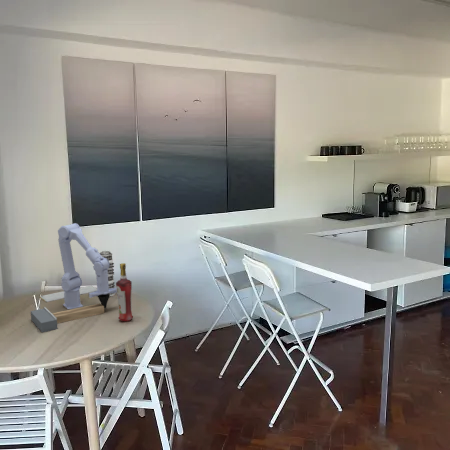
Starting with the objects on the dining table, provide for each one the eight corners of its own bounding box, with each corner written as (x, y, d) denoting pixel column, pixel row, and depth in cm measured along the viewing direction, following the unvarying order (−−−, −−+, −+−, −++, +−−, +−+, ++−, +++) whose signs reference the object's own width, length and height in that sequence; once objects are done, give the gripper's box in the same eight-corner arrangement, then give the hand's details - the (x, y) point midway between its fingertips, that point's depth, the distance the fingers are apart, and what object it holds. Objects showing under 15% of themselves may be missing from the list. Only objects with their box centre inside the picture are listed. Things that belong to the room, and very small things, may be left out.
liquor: (115, 320, 229) (111, 264, 224) (127, 316, 234) (124, 261, 229) (123, 323, 224) (120, 266, 219) (136, 319, 229) (133, 263, 224)
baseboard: (100, 292, 276) (91, 287, 285) (99, 287, 276) (91, 283, 285) (46, 303, 257) (39, 298, 266) (46, 298, 256) (39, 293, 265)
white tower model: (96, 297, 265) (93, 253, 261) (102, 292, 274) (100, 250, 270) (112, 297, 264) (109, 253, 260) (118, 292, 273) (115, 250, 269)
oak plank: (44, 322, 228) (43, 315, 228) (100, 309, 244) (99, 303, 243) (47, 325, 223) (47, 318, 223) (104, 313, 239) (104, 306, 239)
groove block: (31, 319, 231) (30, 309, 230) (45, 316, 235) (45, 307, 234) (42, 332, 215) (41, 321, 214) (57, 328, 219) (56, 318, 218)
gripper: (91, 287, 232) (93, 313, 235) (119, 281, 241) (120, 307, 243) (86, 283, 238) (88, 309, 240) (113, 278, 246) (115, 303, 249)
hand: (104, 308), depth 242 cm, fingers closed
